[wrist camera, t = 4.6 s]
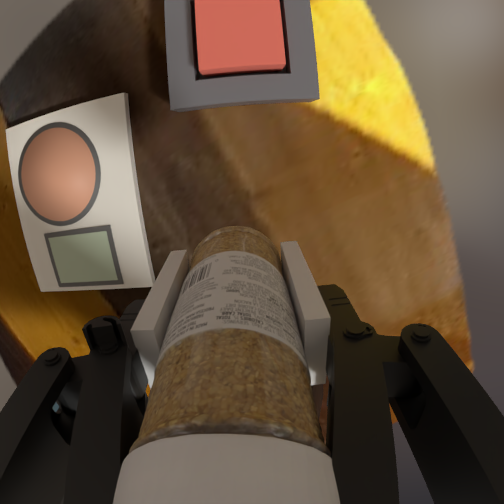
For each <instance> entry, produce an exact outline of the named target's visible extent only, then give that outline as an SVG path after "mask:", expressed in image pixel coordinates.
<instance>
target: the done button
mask: <svg viewBox="0 0 504 504" xmlns="http://www.w3.org/2000/svg"><path fill="white" fill-rule="evenodd" d="M195 18H196V35H197V50H198V65H199V71H200V73H201V74H202V75H203V76H204V77H209V76H218V75H228V74H240V73H255V72H275V71H282V69H283V68H284V66H285V65H286V60H285V49H284V39H283V29H282V19H281V10H280V1H279V0H195Z"/></svg>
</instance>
